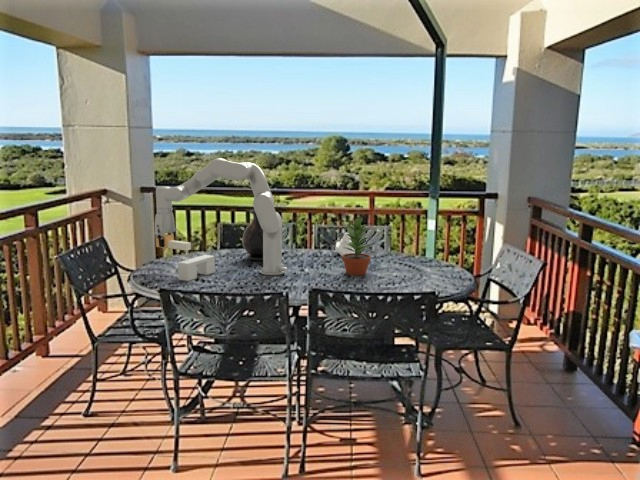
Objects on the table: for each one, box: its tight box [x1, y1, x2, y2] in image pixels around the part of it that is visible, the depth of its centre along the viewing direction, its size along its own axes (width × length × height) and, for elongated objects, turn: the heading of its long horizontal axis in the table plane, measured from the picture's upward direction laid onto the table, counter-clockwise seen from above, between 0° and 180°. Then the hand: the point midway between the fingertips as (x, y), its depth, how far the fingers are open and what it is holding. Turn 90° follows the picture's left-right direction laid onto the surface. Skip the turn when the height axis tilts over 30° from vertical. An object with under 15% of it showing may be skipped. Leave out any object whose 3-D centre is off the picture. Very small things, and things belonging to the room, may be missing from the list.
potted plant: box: [342, 217, 371, 276], centre depth 277 cm, size 15×15×30 cm
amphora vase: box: [241, 208, 263, 262], centre depth 306 cm, size 22×22×28 cm
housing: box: [177, 254, 216, 282], centre depth 269 cm, size 6×20×8 cm, turn 151°
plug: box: [155, 233, 192, 251], centre depth 274 cm, size 20×6×6 cm, turn 61°
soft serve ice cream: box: [334, 231, 355, 257], centre depth 323 cm, size 12×15×14 cm
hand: (166, 245), depth 277 cm, fingers closed on plug, 5 cm apart
